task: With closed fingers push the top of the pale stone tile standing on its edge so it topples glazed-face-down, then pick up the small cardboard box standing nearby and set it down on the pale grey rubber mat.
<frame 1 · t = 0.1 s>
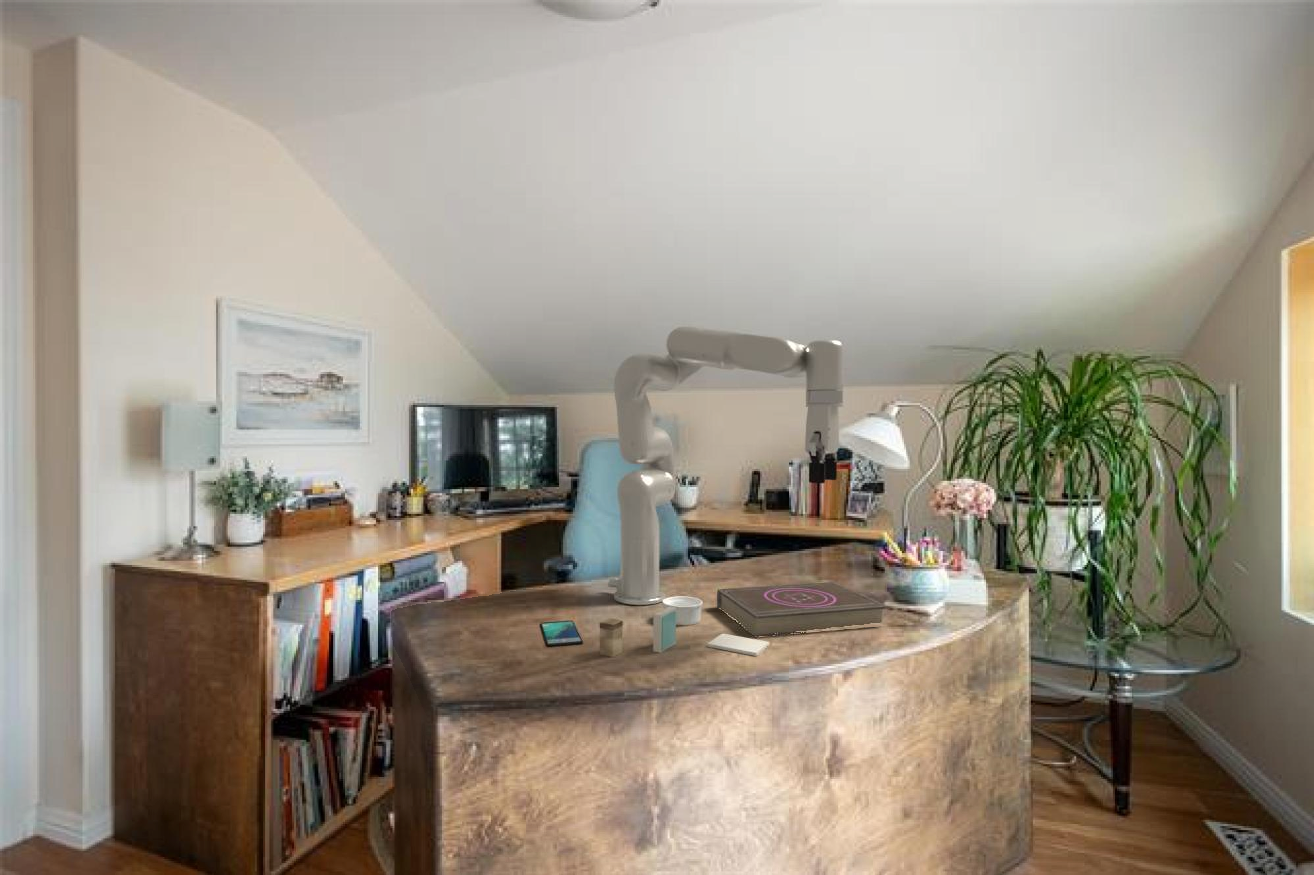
hand: (823, 481, 133), 31 cm above the table, fingers open, 9 cm apart
tile: (664, 647, 122), on the table
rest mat: (738, 645, 123), on the table
small cardboard box: (611, 653, 118), on the table
ramekin: (682, 621, 139), on the table
book: (797, 619, 143), on the table
smartphone: (560, 636, 129), on the table
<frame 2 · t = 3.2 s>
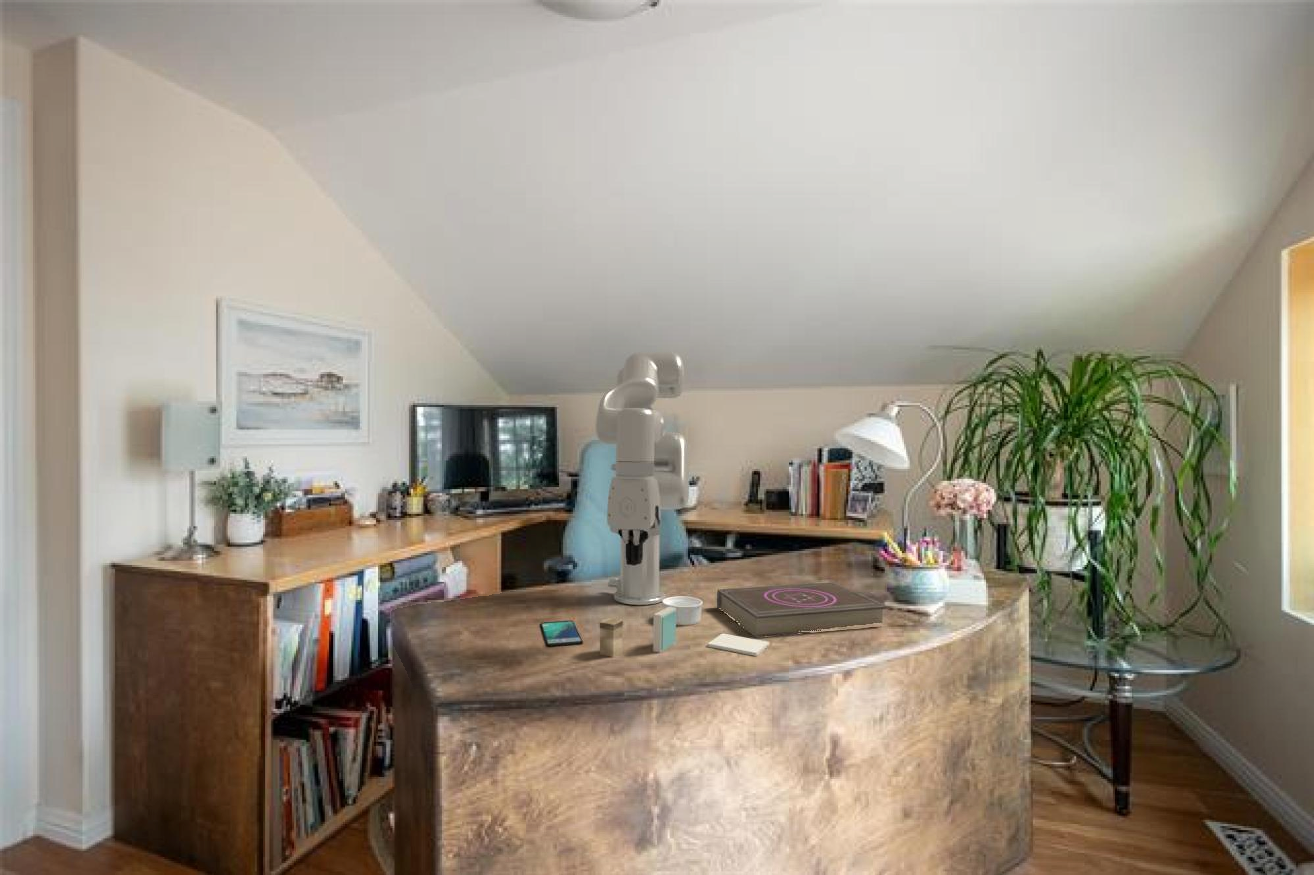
hand: (634, 563, 125), 15 cm above the table, fingers closed
nothing on the table moved.
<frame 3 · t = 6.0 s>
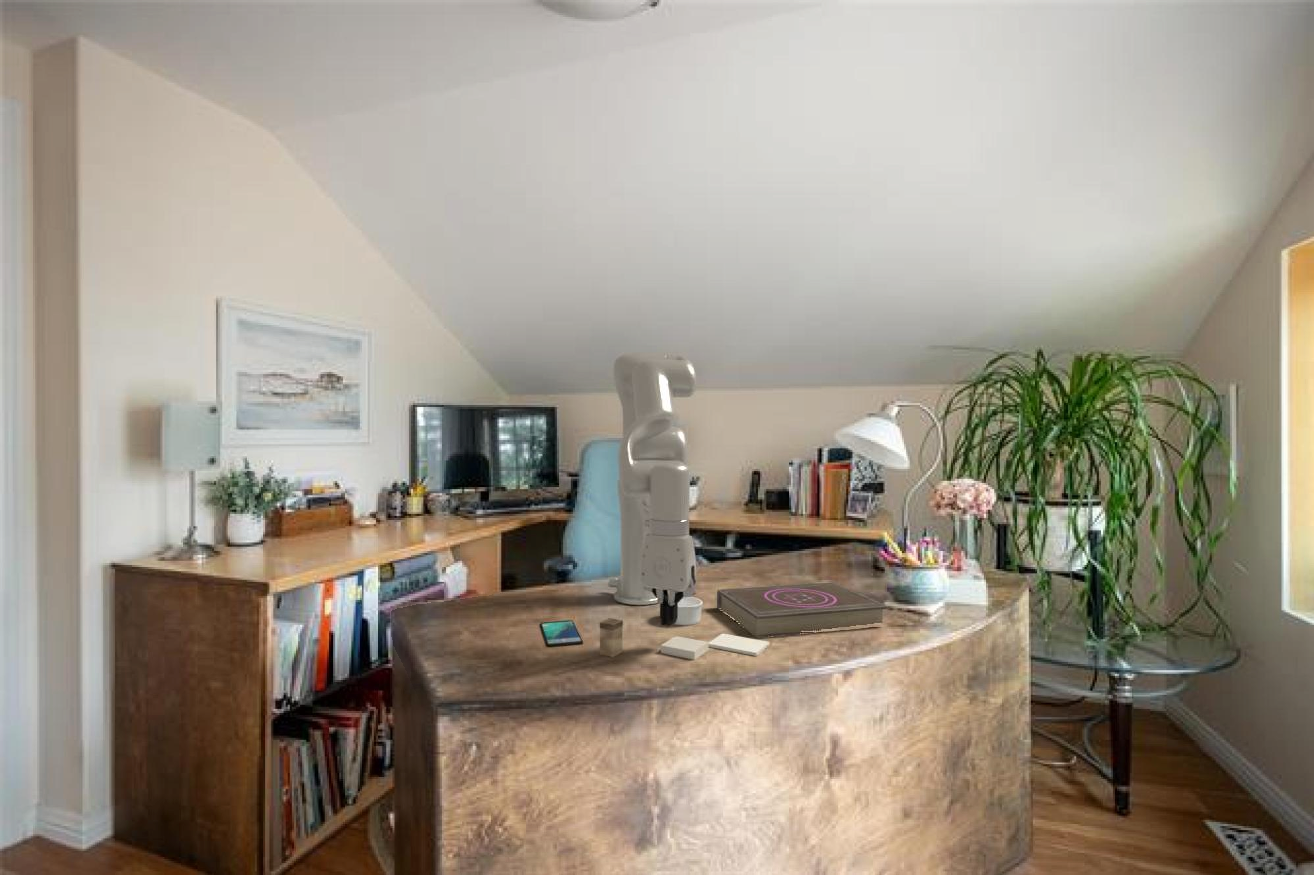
hand: (668, 623, 121), 5 cm above the table, fingers closed
tile: (668, 644, 121), point 1 cm above the table, tilted 90°
everything else where it was.
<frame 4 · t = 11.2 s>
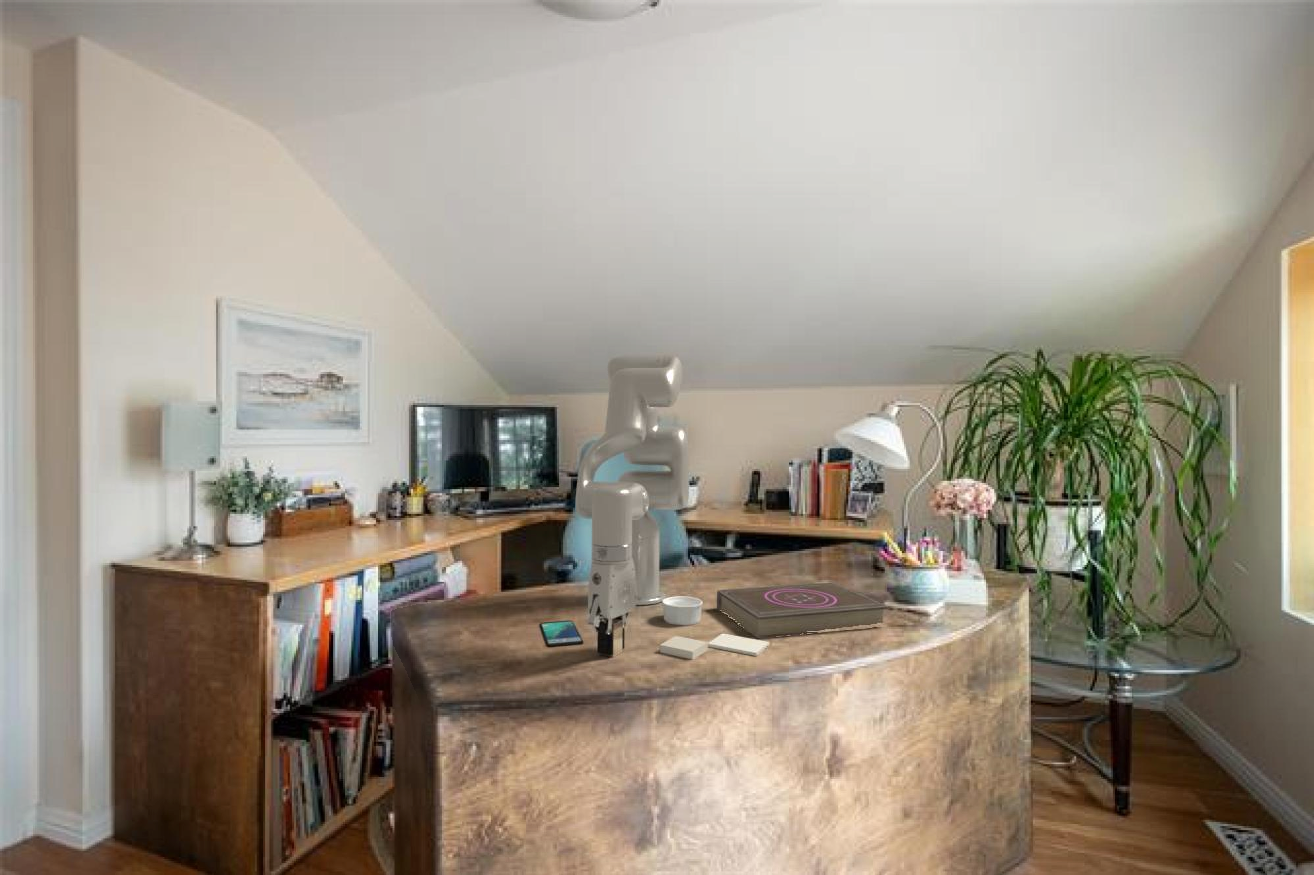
hand: (611, 650, 118), 1 cm above the table, fingers closed on small cardboard box, 3 cm apart
small cardboard box: (611, 653, 118), on the table, touching gripper
everything else where it was.
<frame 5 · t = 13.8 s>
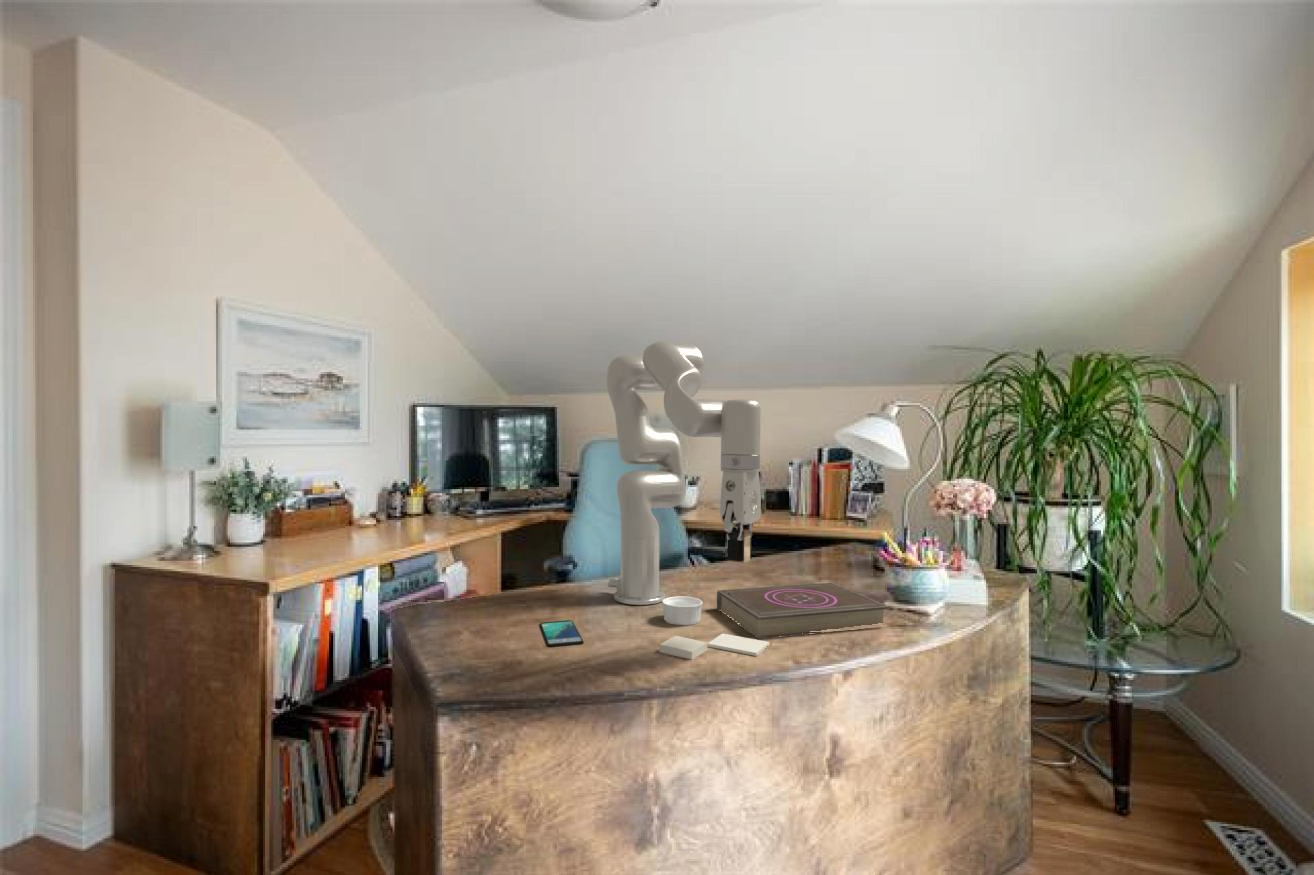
hand: (739, 557, 123), 17 cm above the table, fingers closed on small cardboard box, 3 cm apart
small cardboard box: (739, 560, 123), point 17 cm above the table, touching gripper
everything else where it was.
when the fingers open (2 cm above the table, at t = 16.8 s): small cardboard box stays where it is, resting on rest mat.
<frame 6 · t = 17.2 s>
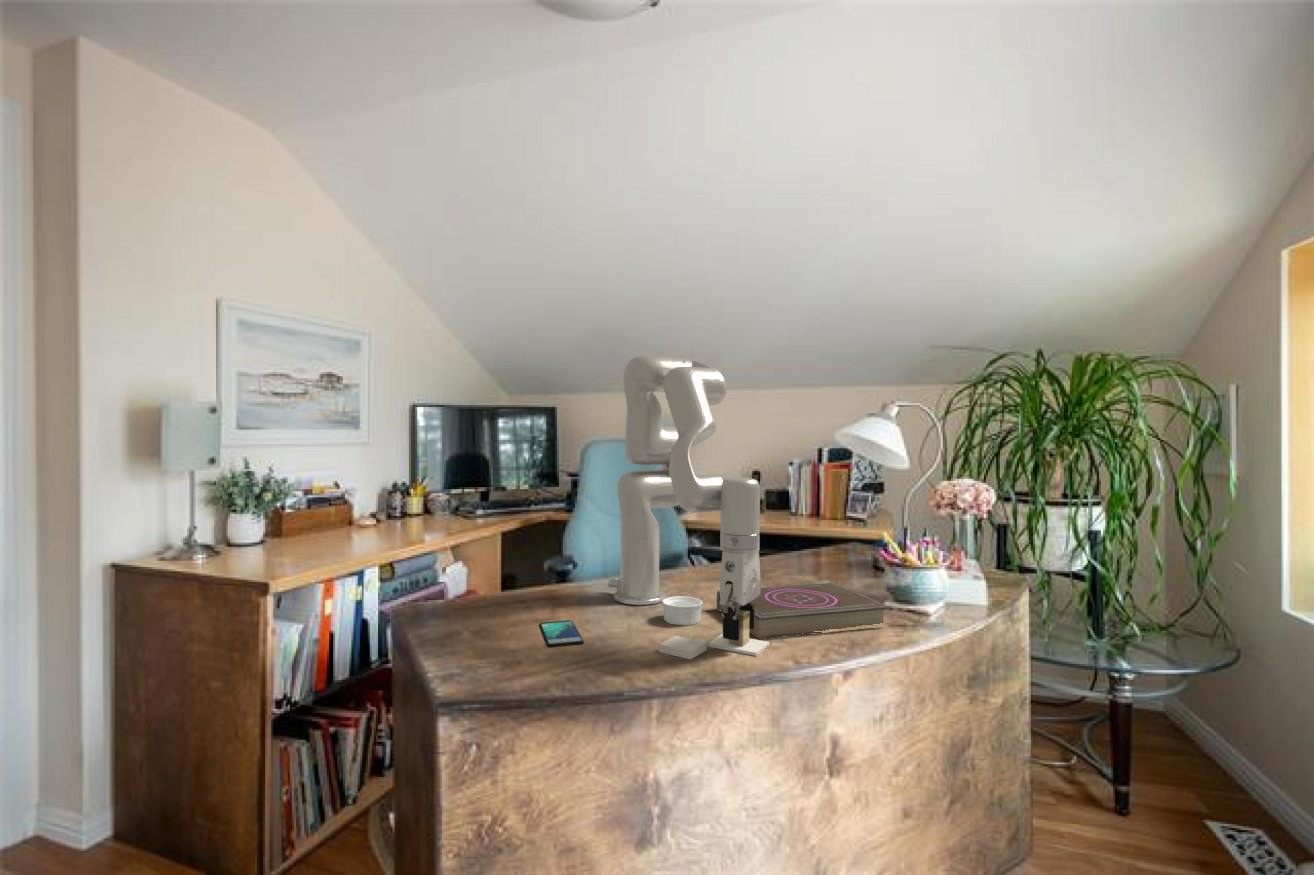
hand: (738, 632, 123), 3 cm above the table, fingers open, 7 cm apart
small cardboard box: (738, 642, 123), point 1 cm above the table, touching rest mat
everything else where it was.
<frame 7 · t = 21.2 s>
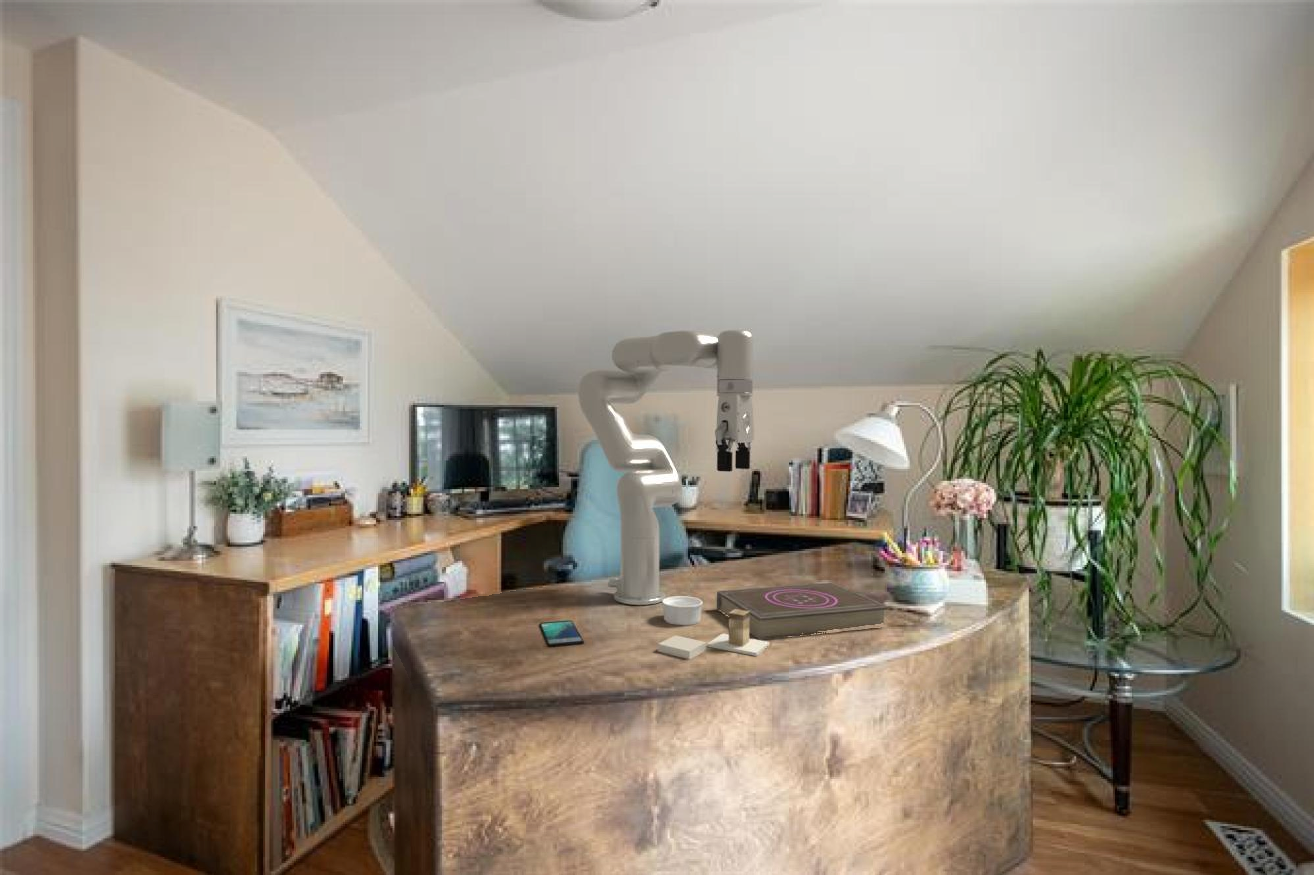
hand: (733, 469, 135), 33 cm above the table, fingers open, 9 cm apart
at the end: tile tilted 90°; small cardboard box 0.1 cm from the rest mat (horizontally); the gripper is holding nothing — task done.
